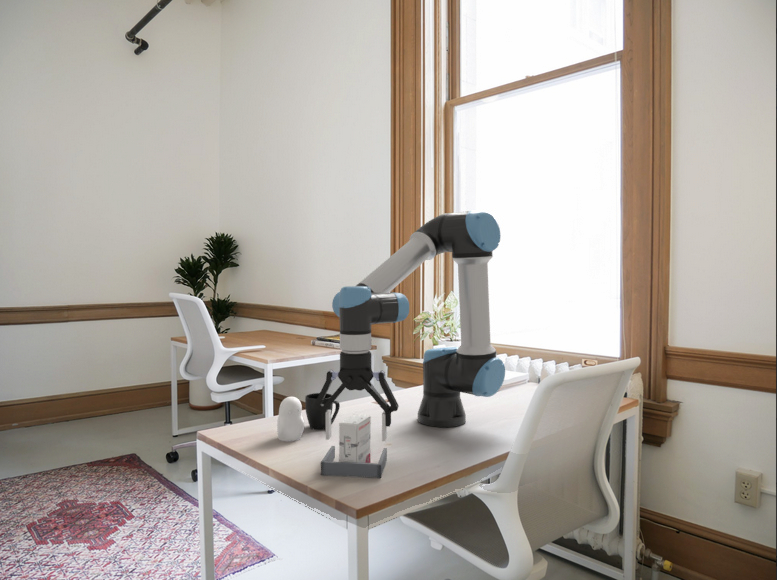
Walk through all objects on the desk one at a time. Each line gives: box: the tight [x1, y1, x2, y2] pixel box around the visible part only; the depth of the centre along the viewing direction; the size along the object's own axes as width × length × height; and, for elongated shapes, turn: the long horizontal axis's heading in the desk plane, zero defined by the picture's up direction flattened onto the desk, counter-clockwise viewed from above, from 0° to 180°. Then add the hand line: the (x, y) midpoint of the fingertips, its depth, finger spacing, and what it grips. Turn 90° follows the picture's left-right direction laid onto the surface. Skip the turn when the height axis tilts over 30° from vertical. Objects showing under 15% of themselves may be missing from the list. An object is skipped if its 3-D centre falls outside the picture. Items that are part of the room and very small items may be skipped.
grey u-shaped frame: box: [320, 445, 388, 479], centre depth 132 cm, size 14×12×3 cm
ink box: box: [338, 414, 372, 463], centre depth 132 cm, size 9×5×12 cm, turn 159°
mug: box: [304, 392, 341, 431], centre depth 164 cm, size 8×12×10 cm
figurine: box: [276, 396, 305, 442], centre depth 154 cm, size 7×8×12 cm
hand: (356, 438), depth 132 cm, fingers open, 13 cm apart
